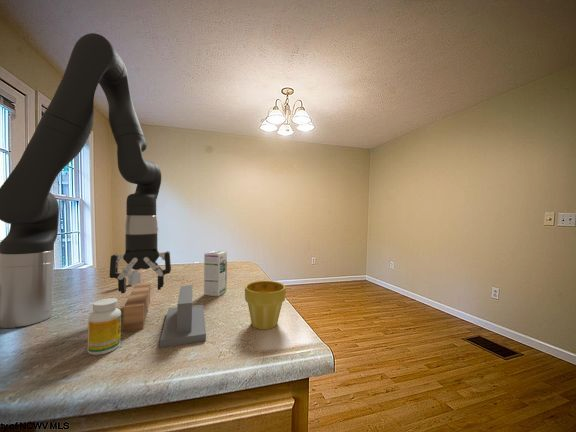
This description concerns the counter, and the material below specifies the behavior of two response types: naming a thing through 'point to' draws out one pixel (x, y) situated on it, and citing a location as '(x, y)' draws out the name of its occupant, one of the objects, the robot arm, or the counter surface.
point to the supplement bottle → (104, 327)
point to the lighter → (132, 276)
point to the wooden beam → (136, 307)
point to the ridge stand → (184, 321)
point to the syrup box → (215, 273)
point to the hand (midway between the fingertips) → (142, 290)
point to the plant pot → (264, 302)
